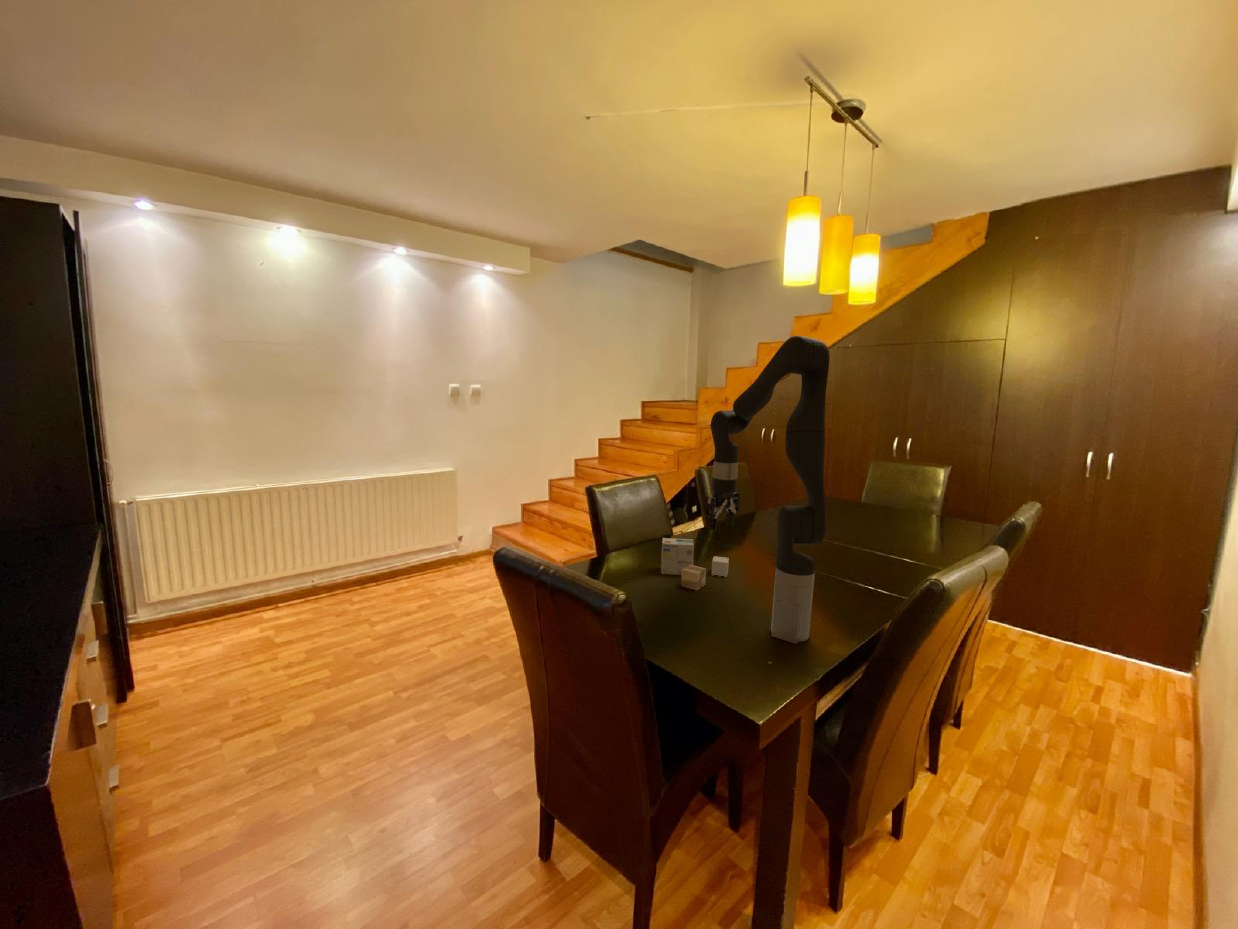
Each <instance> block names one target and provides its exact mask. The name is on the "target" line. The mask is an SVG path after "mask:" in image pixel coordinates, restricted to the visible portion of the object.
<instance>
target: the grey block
mask: <svg viewBox="0 0 1238 929" xmlns="http://www.w3.org/2000/svg"><path fill="white" fill-rule="evenodd" d="M729 560H730V558H729V557H725V556H724V557H723V556H722V557H721V556H715V555H714V556H713V558H712V563H711V576H714V575H718V576H717V577H721V576H724V577H723V578H727V577H728V574H729V565H730V564H729Z"/></svg>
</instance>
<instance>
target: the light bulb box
mask: <svg viewBox="0 0 1238 929" xmlns="http://www.w3.org/2000/svg"><path fill="white" fill-rule="evenodd" d="M694 545H695V544H694V539H691V538H690V539H689V538H670V537H669V538H666V537H662V540H661V556H660V557H661V559H660V560H661V561H660V564H661V565H660V566H661V567H660V574H661V575H671V576H672V575H674V576H676V575H677V576H682V569H684V568H685V567H687V566H689V565H694V554H695V552H694V550H695V546H694Z"/></svg>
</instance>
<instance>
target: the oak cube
mask: <svg viewBox="0 0 1238 929" xmlns="http://www.w3.org/2000/svg"><path fill="white" fill-rule="evenodd" d="M706 573H707V568H705V567H702V566H701V567H700V566H697V565H694V564H693V565H689V566H687V567H685V568H684V569H682V575H681V584H680V586H681V587H684V588H686V589H691V590H693V589H694V590H695V591H698V590H700V589H701V587H702V588H703V587H705V586H706V576H707V574H706ZM704 585H705V586H704ZM694 590H693V591H694Z"/></svg>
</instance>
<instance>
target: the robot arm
mask: <svg viewBox="0 0 1238 929" xmlns="http://www.w3.org/2000/svg"><path fill="white" fill-rule="evenodd" d="M829 368H830V351H829V347H828V345H827V344H826V343H825V342H824V341H822V340H820V339H817V338H811V337H809V336H808V337H807V336H804V335H793V336H790V337H789V338H788V339H787V340H785V341H784V342H783V343H782V344H781V346H779V348H778V349H777V350H776V352H775V353H774V355H773V357H772V358H771V359H770V360H769V361H768V363H767V364H766V366H765V367H764V368H763V370H762V371H761V372H760V374H759V375H758V377H757V378H756V379H755V380H754V382H752V383H751V384H750V386H748V387H747V388H746V389H745V390H744V391H743V392H742V393H741V394H739V396H738V397H737V398H736V399H735V400H734V402H733V404H732V409H733V410H717V411H716V412H714V413H713V415H712V416H711V420H710V431H711V436H712V441H713V446H714V455H713V456H714V460H713V466H712V475H711V490H712V492H713V497H710V496H707V497H706V499H705V510H704V516H705V517H708V518H709V521H708V522H709V523H708V526H709V529H710V530H711V531H717V529H718V516H719V514H721V513H722V512H723V510H725V509H726V512H727V513H726V525H727V526H730V527H732V526H734V524H735V515H736V513H737V512H739V511H740V506H741V505H740V504H741V493H740V492H737V488H738V478H739V477H738V474H739V465H738V460H739V445H738V444H737V443H736V442H733V441H730V436H729V435H736V434H740V433H741V432H743V431H744V430H746V428H748V425H749V424H750V423H751V421H752V420H753V417H754V416H756V415H757V414H758V413H759V412H760V411H762V410H763V409H764V408H765V407H766V406H767V405H768V404H769V403H770V401H771V400H772V397H773V394H774V390H775V388H776V385H777V384H778V383H779V382H780V381H781V380H782V379H783V378H785V377H786V376H788V375H790V374H796V375H801V392H800V395H799V396H800V398H799V400H798V402H797V404H796V406H795V408H794V409H793V411H792V413H791V414H790V416H789V417H788V420H787V423H786V427H785V442H784V443H785V446H784V447H785V450H784V451H785V455H786V458H787V459H788V461H789V463H790V465H791V466H792V468H793V469H794V470H795V472H796V474H797V475H798V477H799V479H800V481H801V482H802V484H803V486H804V490H805V493H806V497H807V504H808V505H792V504H791V505H789V504H787V505H782V506H781V508H780V509H779V511H778V514H777V524H776V526H777V528H776V529H777V532H776V533H777V535H776V536H777V537H776V539H777V540H776V556H775V558H776V561H775V576H774V586H773V587H774V588H773V598H772V612H771V625H770V632H771V637H773V638H775V639H779V640H783V641H786V642H789V643H792V644H795V645H796V644H798V643H803V642H805V641H808V639H809V638H810V630H811V620H812V608H813V607H812V606H813V596H814V586H815V585H814V584H815V576H816V567H817V566H816V561H815V560H814V559H815V558H812V557H811V556H809V555H807V554H805V553H803V552H800V551H799V550H798V551H797V550H796V549H794V544H802V545H803V544H807V545H819V544H822V543H823V542H824V540H825V538H826V534H827V511H826V510H827V508H826V496H825V492H826V491H825V452H826V451H825V450H826V422H825V421H826V420H825V419H826V396H827V395H826V394H827V387H828V378H829V370H830V369H829Z"/></svg>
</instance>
